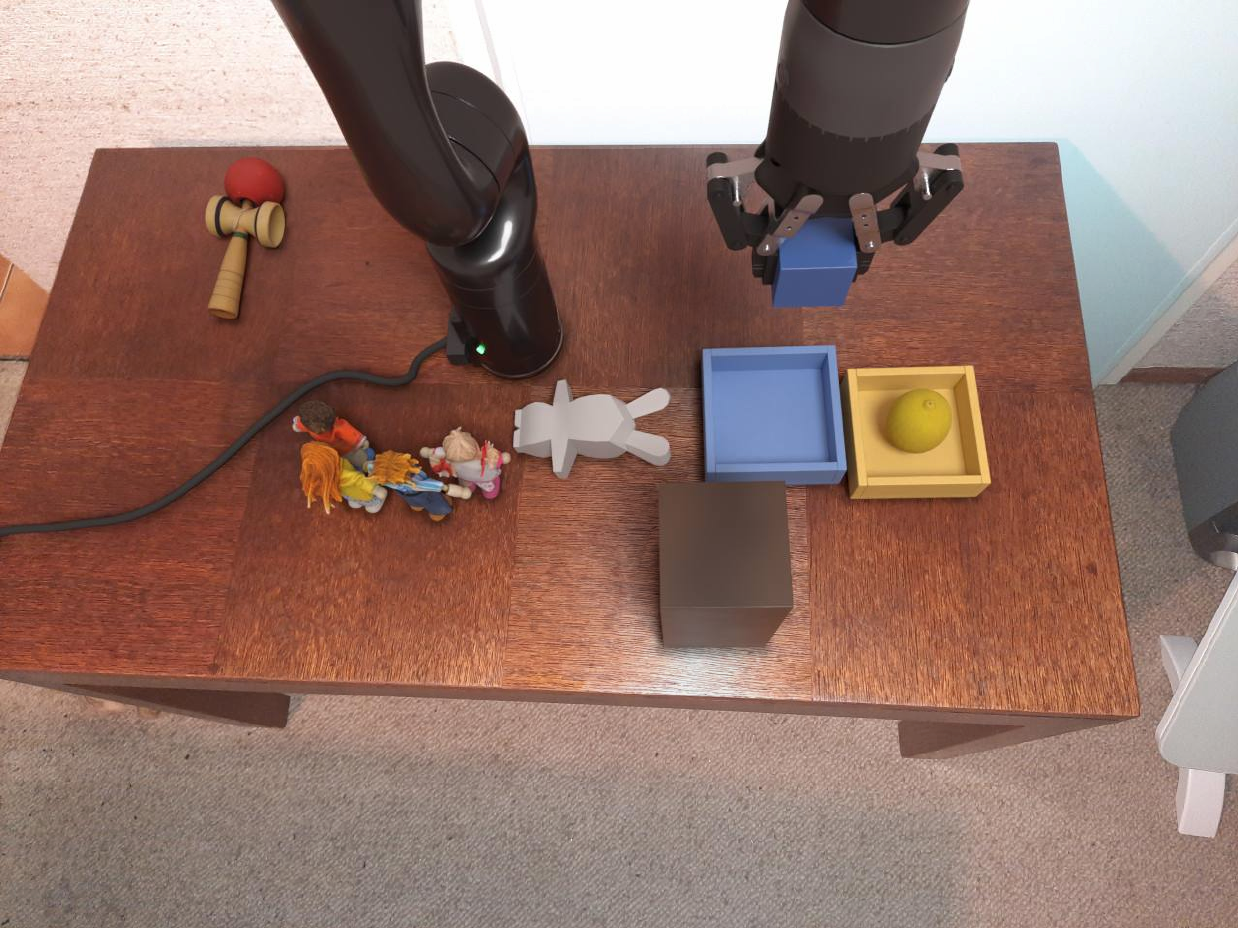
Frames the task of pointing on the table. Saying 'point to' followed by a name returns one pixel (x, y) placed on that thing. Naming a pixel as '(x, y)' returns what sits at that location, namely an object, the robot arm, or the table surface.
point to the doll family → (389, 466)
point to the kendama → (243, 225)
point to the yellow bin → (900, 473)
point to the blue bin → (772, 415)
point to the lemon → (919, 420)
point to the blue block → (816, 265)
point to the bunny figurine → (589, 428)
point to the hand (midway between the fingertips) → (806, 271)
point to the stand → (723, 563)
